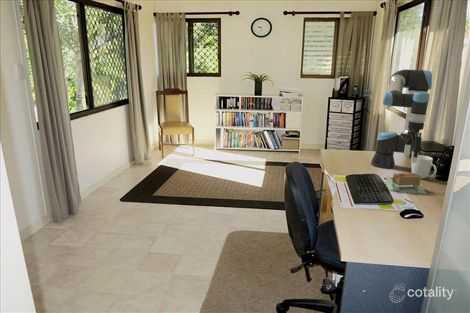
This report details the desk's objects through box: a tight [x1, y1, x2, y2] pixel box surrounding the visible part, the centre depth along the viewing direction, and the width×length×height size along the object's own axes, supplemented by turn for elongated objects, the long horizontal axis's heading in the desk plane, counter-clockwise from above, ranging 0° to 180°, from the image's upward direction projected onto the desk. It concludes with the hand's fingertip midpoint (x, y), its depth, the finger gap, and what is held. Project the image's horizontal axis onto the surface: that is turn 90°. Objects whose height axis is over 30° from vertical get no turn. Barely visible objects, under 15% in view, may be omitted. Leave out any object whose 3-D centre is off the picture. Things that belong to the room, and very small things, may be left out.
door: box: [391, 172, 422, 186], centre depth 198 cm, size 6×13×6 cm, turn 100°
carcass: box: [384, 175, 427, 195], centre depth 199 cm, size 13×19×5 cm
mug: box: [410, 154, 438, 180], centre depth 218 cm, size 15×11×13 cm
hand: (409, 159), depth 196 cm, fingers open, 13 cm apart
